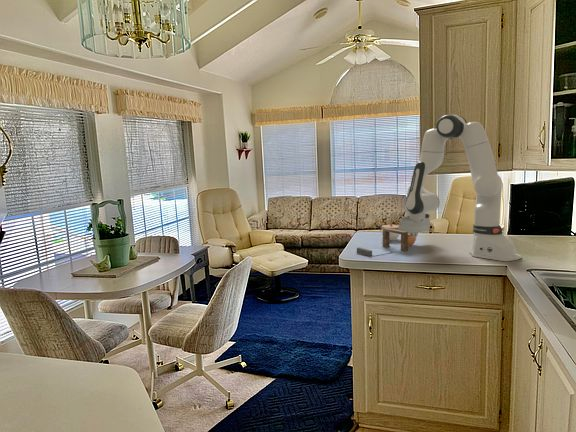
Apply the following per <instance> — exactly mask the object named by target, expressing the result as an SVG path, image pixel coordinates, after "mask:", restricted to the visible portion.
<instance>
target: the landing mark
mask: <svg viewBox="0 0 576 432" xmlns="http://www.w3.org/2000/svg"><path fill="white" fill-rule="evenodd" d="M368 250H372V256H373V257H377V256H383V255H386V254H392V253H393V252H392V251H388V250H386V249H385V250H384V249H380V248H369V249H368Z"/></svg>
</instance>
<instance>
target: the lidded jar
mask: <svg viewBox="0 0 576 432" xmlns="http://www.w3.org/2000/svg"><path fill="white" fill-rule="evenodd" d="M383 228H390V229H396V230H398V228H399V224H393V223H389V224H384V225H381V233H382V234H381V235H382V236H383ZM400 236H401V234H397V233H392V232H390V240H393V241H396V240H397V239H399V237H400Z"/></svg>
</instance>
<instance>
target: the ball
mask: <svg viewBox="0 0 576 432" xmlns="http://www.w3.org/2000/svg"><path fill="white" fill-rule="evenodd" d="M415 242H416V241H415V238H414V236H413V235H410V234H408V247H410V246H413V245H414V244H415Z"/></svg>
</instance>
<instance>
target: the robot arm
mask: <svg viewBox="0 0 576 432" xmlns="http://www.w3.org/2000/svg"><path fill="white" fill-rule="evenodd" d="M435 126H436V127H435V128H430V129H428V130H426V131H425V132H424V135H423V139H422V143H421V151H420V157H419V159H418V161H417V163H416V164H415V166H414V169H413V172H412V177H411V182H410V186H409V187H408V189H407V192H406V199H405V208H406V212H405V216H402V217H401V218H400V219H399V222H398V225H399V228H398V230H401V231H406V232H408V235H409V234H410V235H413V236H414V238H415V242H416V241H417V237H418V235H419V233H424V232H429V231H430V227H431V220H430V218H431V214H430V212H433V211H437V210H438V209H439V206H440V197H439V195H437V193H433V192H431V191H429V190H428V189H426V188H425V187H424V182H425V179H426V177H427V176H428V174H430V173H431V172H433V171H435V170H437V169H438V168H439V167H440V166H441V165H443V164H442V163H443V162H444V159H445V147H446V144H447V141H448V140H451V139H455V138H459V139H460V140H461V142H462V144H463V148H464V152H465V156H466V158H467V162H468V167H469V170H470V174H471V179H472V182H473V183H472V184H473V188H474V192H475V193H476V194H475V204H474V221H473V222H474V223H473V225H472V234H473V236H472V242H471V247H470V250H469V254H470V255H471V257H474V258H475V257H476V258H480V259H487V260H488V259H489V260H493V261H494V260H495V261H500V262H511V261H517V260H519V259H521V258H522V255H521V254H518V253H517V249H516V246H515V243H513V241H511V240H510V239H509V238H508V237H507V236H506V235H505V234H504V232H503V231H504V230H506V229H505V228H506V227H503V228H502V226H501V225H500V222H501V221H500V220H501V202H502V189H503V180H502V178H501V176H500V175H499V174H498V169H497V166H496V162H495V161H496V160H495V157H494V154H493V150H492V146H491V143H490V140H489V137H488V135H487V131H486V129H485V127H484V126H483V124H482V123H481V122H479V121H471V122H467V120H466V118H464V116H461V115H457V114H445V115H443V116H441V117H440V118H438V120H437V122H436V125H435Z"/></svg>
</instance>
